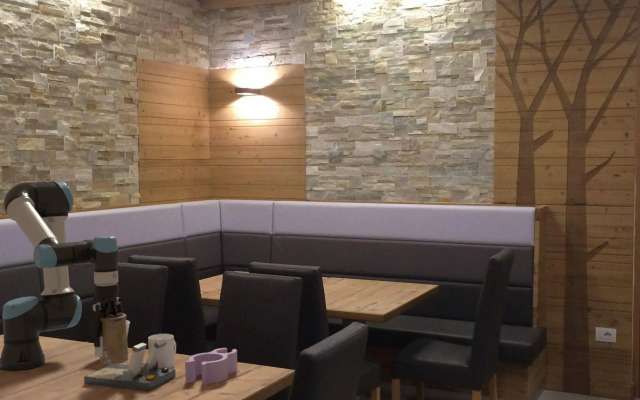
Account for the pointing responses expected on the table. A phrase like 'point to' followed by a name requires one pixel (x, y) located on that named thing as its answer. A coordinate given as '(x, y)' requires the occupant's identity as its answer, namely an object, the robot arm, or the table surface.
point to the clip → (211, 366)
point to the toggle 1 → (137, 358)
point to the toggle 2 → (155, 353)
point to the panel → (130, 377)
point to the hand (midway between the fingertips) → (108, 352)
